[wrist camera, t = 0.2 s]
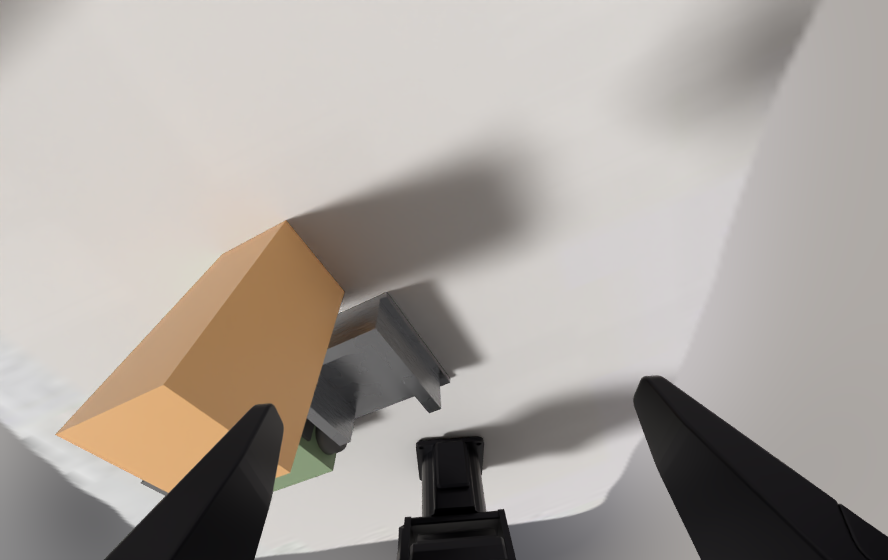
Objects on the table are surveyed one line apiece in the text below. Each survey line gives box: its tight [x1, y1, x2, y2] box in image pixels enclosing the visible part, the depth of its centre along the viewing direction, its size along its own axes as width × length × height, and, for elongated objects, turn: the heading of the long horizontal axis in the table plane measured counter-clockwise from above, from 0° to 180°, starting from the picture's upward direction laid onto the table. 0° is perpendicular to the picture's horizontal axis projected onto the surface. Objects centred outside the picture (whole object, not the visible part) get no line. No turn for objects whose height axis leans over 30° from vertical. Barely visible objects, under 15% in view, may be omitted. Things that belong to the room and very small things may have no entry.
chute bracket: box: [307, 292, 450, 446], centre depth 27 cm, size 10×10×4 cm
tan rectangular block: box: [55, 220, 344, 493], centre depth 19 cm, size 6×5×12 cm
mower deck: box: [141, 418, 347, 496], centre depth 28 cm, size 12×10×7 cm
